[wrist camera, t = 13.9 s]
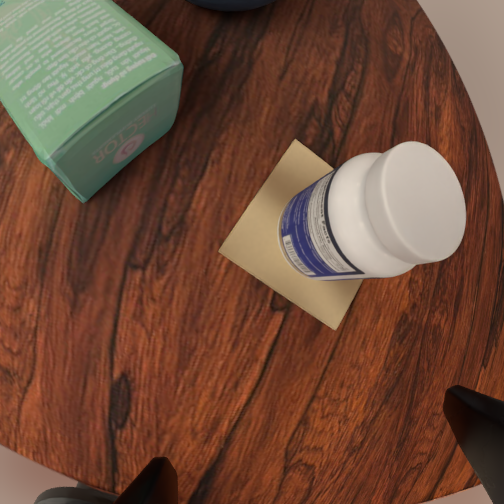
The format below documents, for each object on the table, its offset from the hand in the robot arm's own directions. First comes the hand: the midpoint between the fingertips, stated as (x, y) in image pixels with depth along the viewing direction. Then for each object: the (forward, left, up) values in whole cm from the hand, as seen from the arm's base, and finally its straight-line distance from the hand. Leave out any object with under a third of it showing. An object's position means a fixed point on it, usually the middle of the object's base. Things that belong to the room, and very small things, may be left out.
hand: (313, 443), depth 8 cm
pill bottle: (+9, 0, -10) cm, 14 cm away
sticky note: (+9, 0, -11) cm, 14 cm away
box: (+7, +18, -11) cm, 22 cm away
